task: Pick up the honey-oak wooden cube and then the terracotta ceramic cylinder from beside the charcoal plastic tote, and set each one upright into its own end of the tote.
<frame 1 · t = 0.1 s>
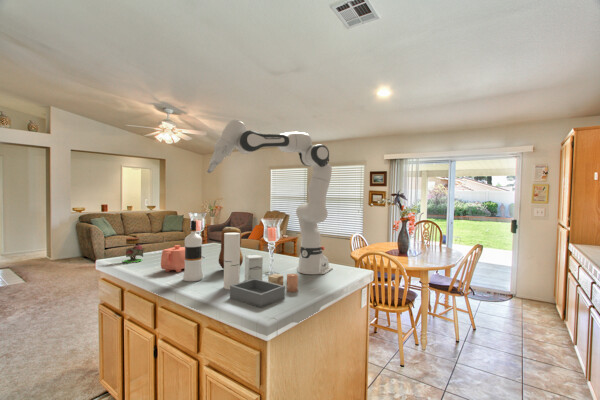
hand: (209, 171, 142), 54 cm above the countertop, tool tilted 30°, fingers open, 8 cm apart
teapot: (177, 270, 167), on the countertop
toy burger: (133, 261, 187), on the countertop
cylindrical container: (231, 287, 135), on the countertop
butternut squash: (230, 270, 166), on the countertop
tote: (257, 297, 120), on the countertop
vodka: (193, 279, 147), on the countertop
oak cube: (275, 286, 137), on the countertop
supplement box: (253, 281, 145), on the countertop
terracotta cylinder: (292, 290, 131), on the countertop
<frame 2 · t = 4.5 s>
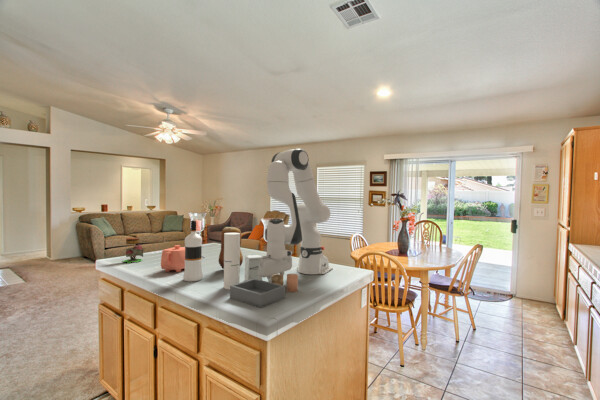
hand: (275, 282, 137), 2 cm above the countertop, tool pointing down, fingers closed on oak cube, 5 cm apart
oak cube: (275, 286, 137), on the countertop, touching gripper
everything else where it was.
when the fingers open (5 cm above the countertop, at t = 10.2 s): oak cube drops 2 cm, resting on tote.
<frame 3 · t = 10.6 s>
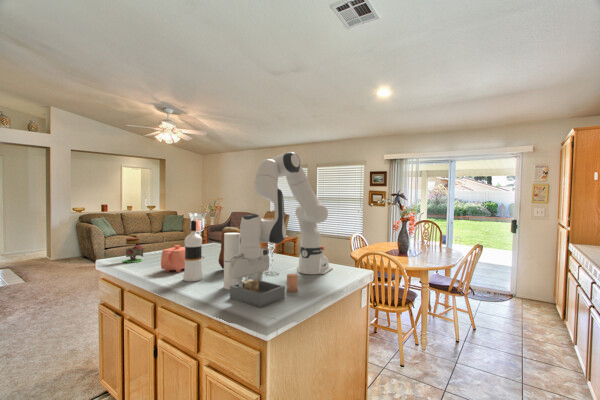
hand: (250, 284, 123), 5 cm above the countertop, tool pointing down, fingers open, 8 cm apart
oak cube: (250, 293, 123), point 1 cm above the countertop, touching tote
everything else where it was.
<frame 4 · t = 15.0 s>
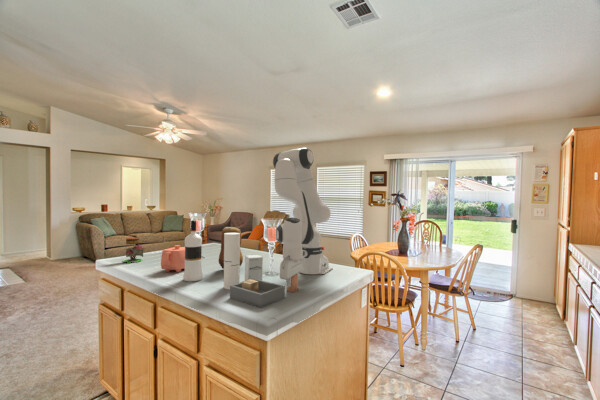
hand: (292, 284, 131), 3 cm above the countertop, tool pointing down, fingers closed on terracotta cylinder, 5 cm apart
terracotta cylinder: (292, 290, 131), on the countertop, touching gripper
everything else where it was.
when the fingers open (5 cm above the countertop, at t = 20.9 s): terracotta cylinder drops 1 cm, resting on tote.
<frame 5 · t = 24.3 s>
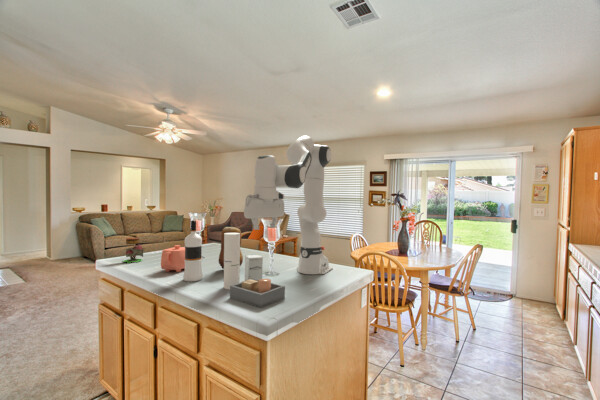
hand: (264, 228, 118), 29 cm above the countertop, tool pointing down, fingers open, 8 cm apart
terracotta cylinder: (264, 297, 118), point 1 cm above the countertop, touching tote
everything else where it was.
at the end: oak cube inside the target area on the tote (4.5 cm from its centre), point 1.0 cm above the tote's base; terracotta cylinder inside the target area on the tote (4.0 cm from its centre), point 1.1 cm above the tote's base; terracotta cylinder tilted 1° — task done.
